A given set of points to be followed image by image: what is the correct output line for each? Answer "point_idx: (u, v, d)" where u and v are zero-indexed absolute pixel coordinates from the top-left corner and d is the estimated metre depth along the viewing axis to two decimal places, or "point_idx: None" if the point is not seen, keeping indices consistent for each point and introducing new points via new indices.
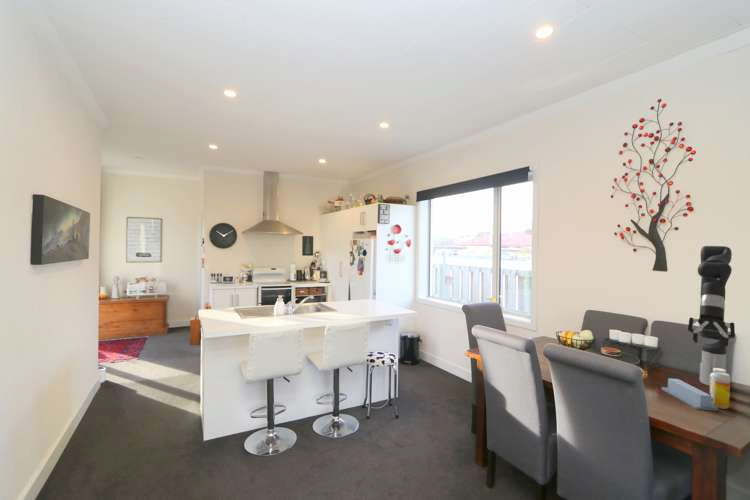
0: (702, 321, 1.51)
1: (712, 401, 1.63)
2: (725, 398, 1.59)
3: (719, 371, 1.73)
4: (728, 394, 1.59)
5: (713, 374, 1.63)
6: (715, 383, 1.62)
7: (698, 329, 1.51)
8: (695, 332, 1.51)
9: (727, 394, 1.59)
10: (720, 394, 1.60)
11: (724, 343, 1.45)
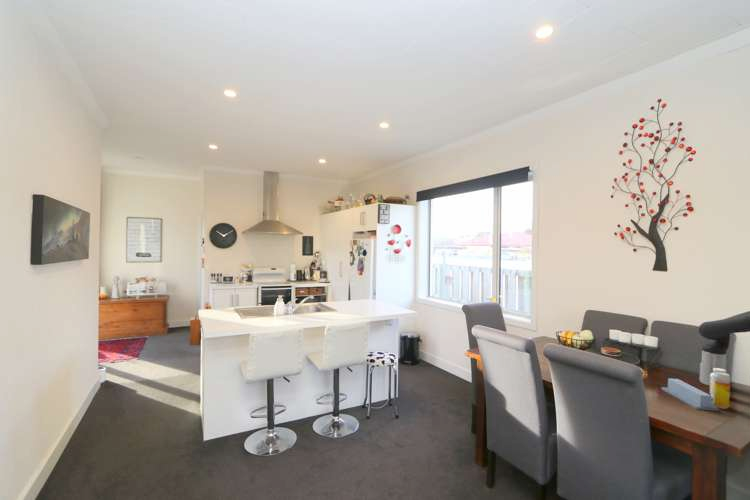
0: None
1: (712, 401, 1.63)
2: (725, 398, 1.59)
3: (719, 371, 1.73)
4: (728, 394, 1.59)
5: (713, 374, 1.63)
6: (715, 383, 1.62)
7: None
8: None
9: (727, 394, 1.59)
10: (720, 394, 1.60)
11: None
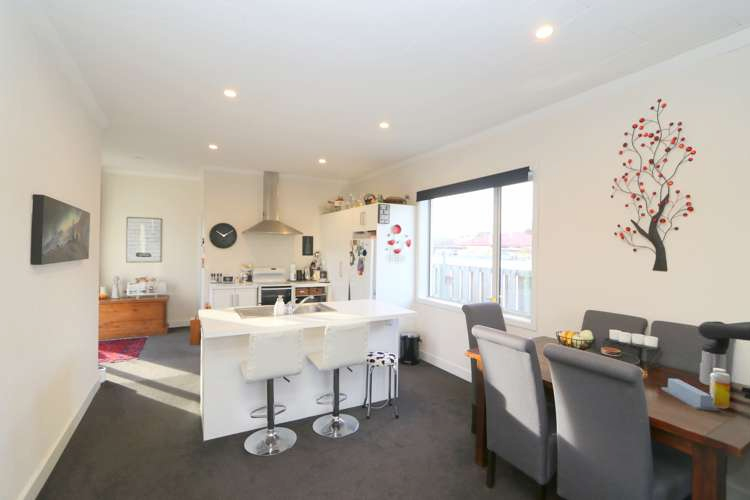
0: None
1: (712, 401, 1.63)
2: (725, 398, 1.59)
3: (719, 371, 1.73)
4: (728, 394, 1.59)
5: (713, 374, 1.63)
6: (715, 383, 1.62)
7: None
8: None
9: (727, 394, 1.59)
10: (720, 394, 1.60)
11: None
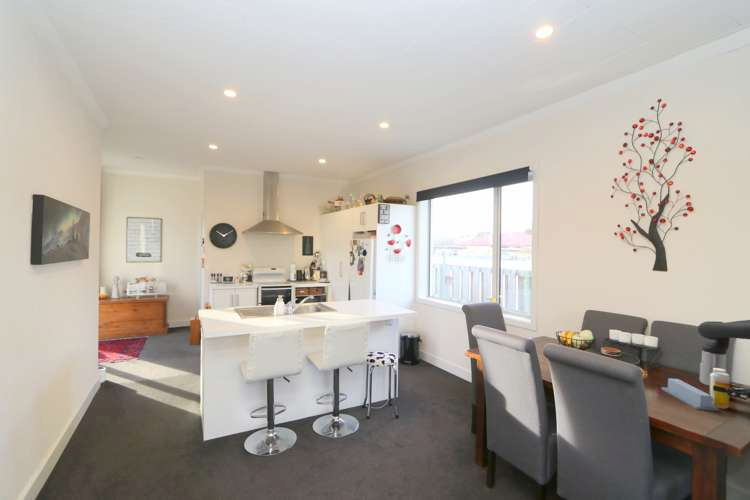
0: None
1: (712, 401, 1.63)
2: (725, 398, 1.59)
3: (719, 371, 1.73)
4: None
5: (713, 374, 1.63)
6: (714, 383, 1.62)
7: None
8: None
9: None
10: (720, 394, 1.60)
11: None
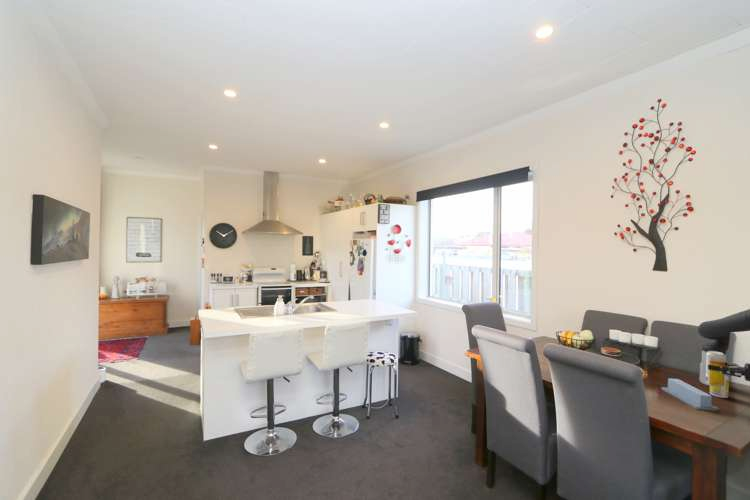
0: None
1: (707, 380, 1.64)
2: (720, 377, 1.60)
3: None
4: None
5: (707, 353, 1.64)
6: (709, 362, 1.63)
7: None
8: None
9: None
10: (715, 373, 1.61)
11: None
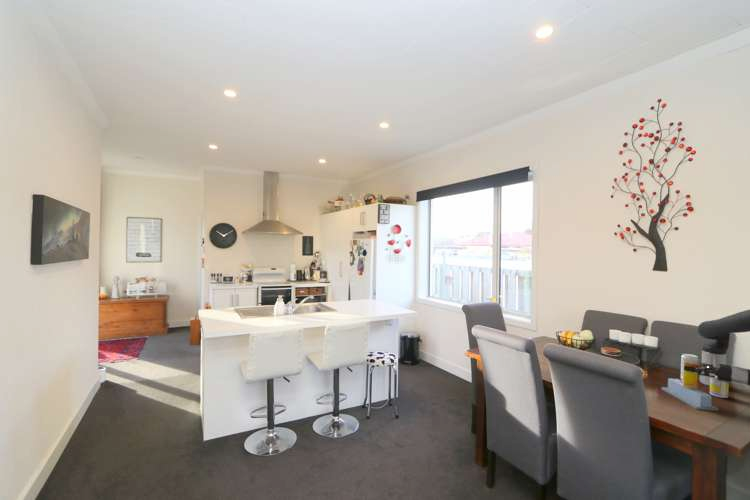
0: None
1: (681, 382, 1.69)
2: (693, 379, 1.66)
3: None
4: (696, 375, 1.66)
5: (682, 356, 1.69)
6: (684, 364, 1.68)
7: None
8: None
9: (695, 375, 1.66)
10: (689, 374, 1.66)
11: None
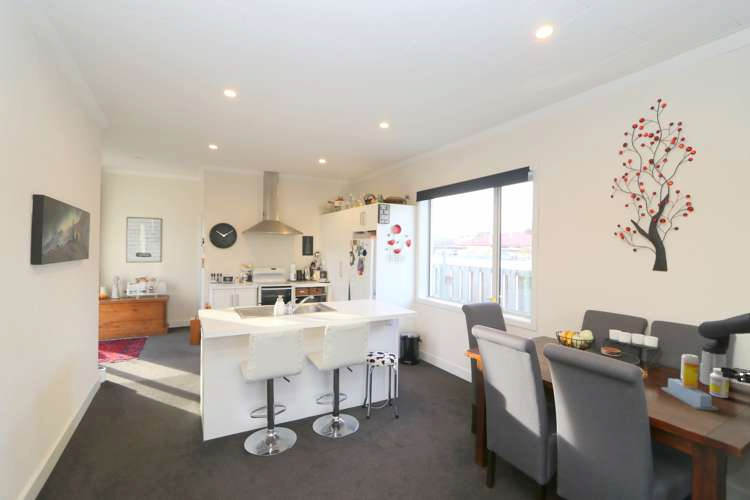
0: None
1: (681, 382, 1.69)
2: (693, 379, 1.66)
3: (719, 371, 1.73)
4: (696, 375, 1.66)
5: (682, 356, 1.69)
6: (684, 364, 1.68)
7: None
8: None
9: (695, 375, 1.66)
10: (689, 375, 1.66)
11: None
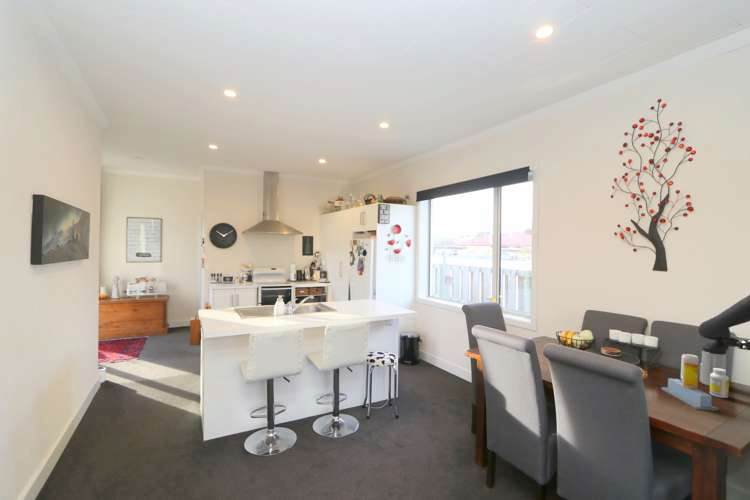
0: None
1: (681, 382, 1.69)
2: (693, 379, 1.66)
3: (719, 371, 1.73)
4: (696, 375, 1.66)
5: (682, 356, 1.69)
6: (684, 364, 1.68)
7: None
8: None
9: (695, 375, 1.66)
10: (689, 375, 1.66)
11: None
